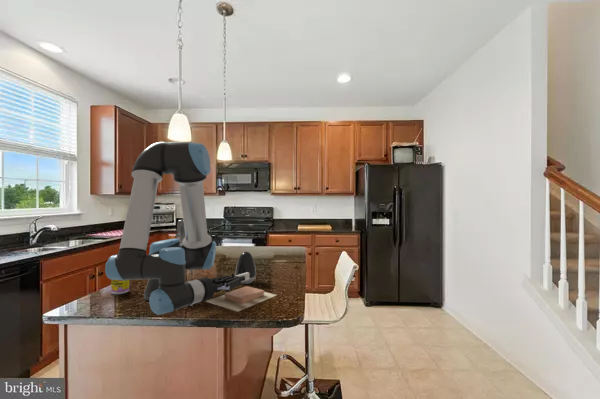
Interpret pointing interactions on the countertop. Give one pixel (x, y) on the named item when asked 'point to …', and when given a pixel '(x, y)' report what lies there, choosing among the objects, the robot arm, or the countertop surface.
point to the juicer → (180, 231)
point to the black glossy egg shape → (246, 267)
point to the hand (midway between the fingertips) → (248, 275)
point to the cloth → (238, 306)
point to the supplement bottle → (119, 286)
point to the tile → (244, 294)
